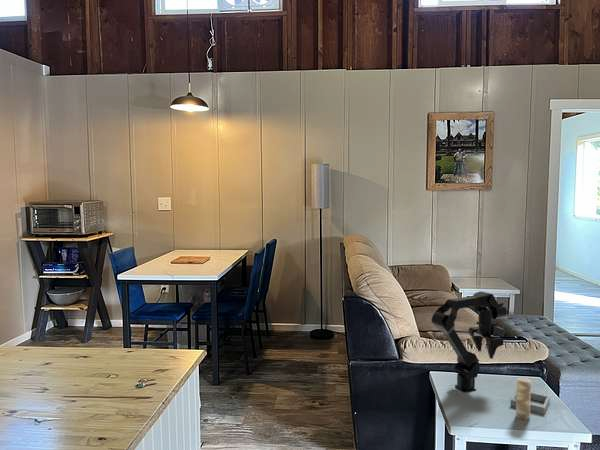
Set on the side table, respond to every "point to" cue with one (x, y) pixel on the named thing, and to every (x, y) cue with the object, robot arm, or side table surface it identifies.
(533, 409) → the tray
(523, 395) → the tan wooden tall block
